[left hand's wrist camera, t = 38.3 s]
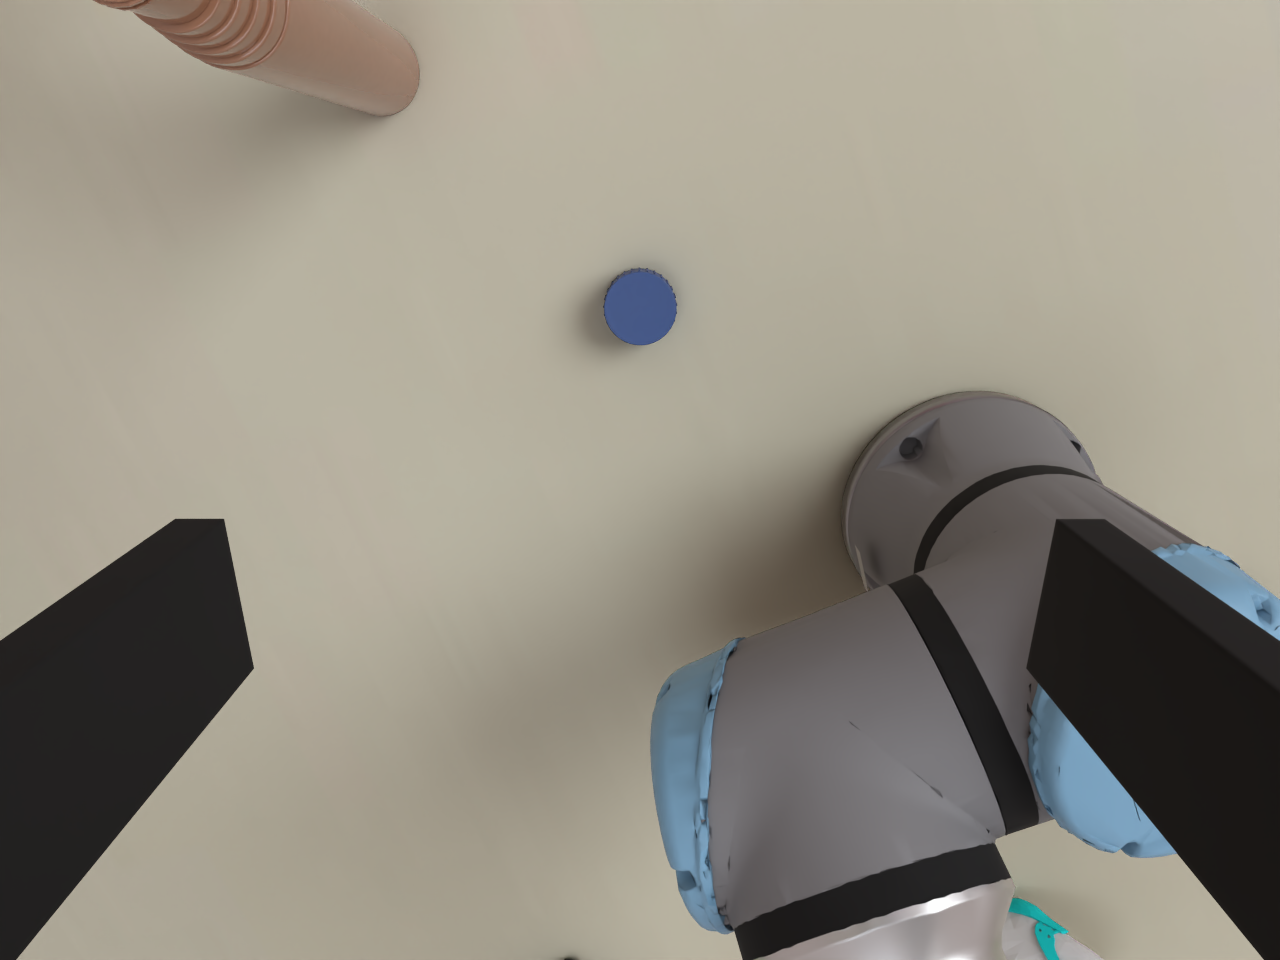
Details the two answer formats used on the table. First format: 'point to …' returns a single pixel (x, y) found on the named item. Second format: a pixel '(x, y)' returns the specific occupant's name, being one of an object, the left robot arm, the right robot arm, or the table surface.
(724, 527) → the table surface
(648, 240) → the table surface
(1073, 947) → the anatomical model
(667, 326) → the cap
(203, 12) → the bottle
